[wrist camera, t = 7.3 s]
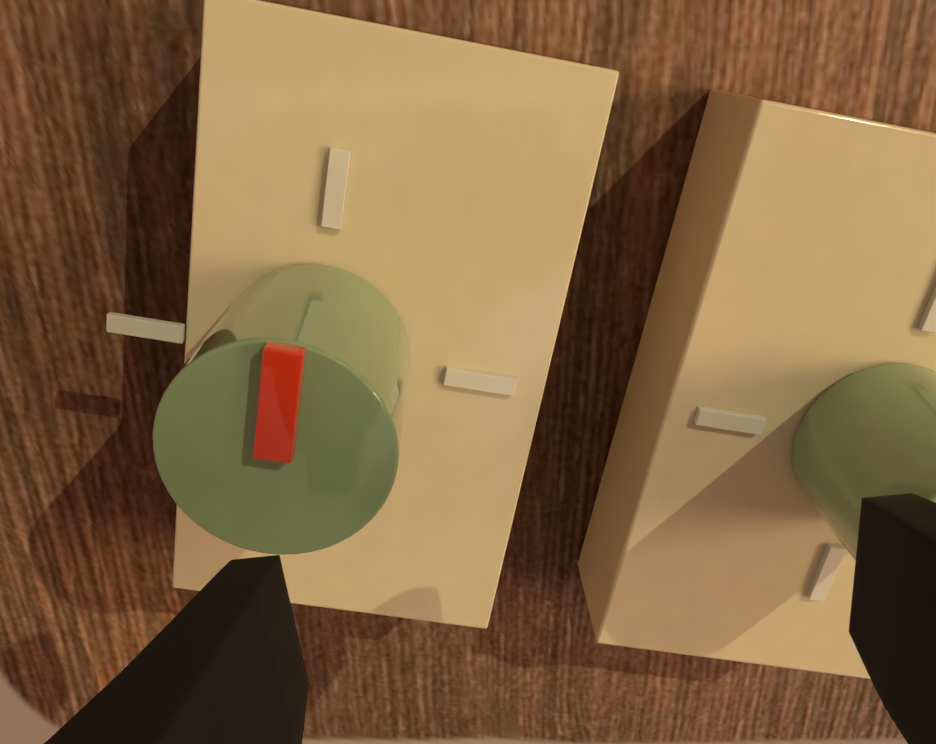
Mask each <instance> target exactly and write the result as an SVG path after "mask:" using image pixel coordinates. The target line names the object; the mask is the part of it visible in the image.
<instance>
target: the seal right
mask: <svg viewBox="0 0 936 744" xmlns="http://www.w3.org/2000/svg"><path fill="white" fill-rule="evenodd" d="M792 465H793V472H794V475H795V479H796V481H797V483H798V485H799V487H800V489H801V491H802V492H803V494H804V495H805V496H806V498H807V499H808V500H809V502H810V503H811V504H812V506H813V507H814V508H815V509H816V511H817V512H818V513H819V515H820V516H821V517H822V519H823V520H824V521H825V523H826V524H827V525H828V526H829V528H830V529H831V530H832V532H833V533H834V534H835V536H836V537H837V538H838V540H839V541H840V542H841V544H842V545H843V546H844V547H845V549H846V550H847V551H848V553H849V554H850V555H851V557H852V558H853V559H854V561H855V562H856V552H857V542H858V532H859V522H860V512H861V502H862V498H867V497H877V496H887V495H898V494H908V493H913V494H916V495H918V496H921V497H923V498H926V499H928V500H930V501H933V502H935V503H936V371H934V370H931V369H929V368H926V367H922V366H918V365H913V364H885V365H878V366H874V367H870V368H866V369H864V370H861V371H858V372H856V373H854V374H852V375H850V376H847V377H845V378H844V379H842V380H840V381H839V382H837V383H836V384H834V385H833V386H832V387H830V388H829V389H828V390H827V391H825V392H824V393H823V394H822V395H821V396H820V397H819V398H818V399H817V400H816V401H815V402H814V404H813V405H812V406H811V407H810V409H809V410H808V411H807V413H806V414H805V416H804V418H803V419H802V421H801V423H800V425H799V428H798V430H797V433H796V436H795V439H794V444H793V450H792Z"/></svg>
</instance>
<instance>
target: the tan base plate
mask: <svg viewBox="0 0 936 744" xmlns="http://www.w3.org/2000/svg"><path fill="white" fill-rule="evenodd" d="M618 77H619V72H618V71H617V70H613V69H609V68H605V67H601V66H597V65H593V64H588V63H583V62H578V61H573V60H568V59H563V58H558V57H553V56H548V55H542V54H537V53H532V52H527V51H522V50H517V49H512V48H507V47H502V46H497V45H492V44H487V43H481V42H476V41H471V40H466V39H461V38H456V37H451V36H446V35H441V34H436V33H431V32H425V31H420V30H415V29H410V28H405V27H400V26H395V25H390V24H385V23H380V22H375V21H370V20H364V19H359V18H354V17H349V16H344V15H339V14H334V13H329V12H324V11H319V10H314V9H308V8H303V7H298V6H293V5H288V4H283V3H278V2H273V1H268V0H204V3H203V21H202V40H201V59H200V77H199V96H198V115H197V133H196V152H195V170H194V189H193V208H192V226H191V245H190V264H189V282H188V301H187V319H186V338H185V357H184V364H185V363H186V362H187V360H188V359H189V358H190V357H191V355H192V354H193V353H194V352H195V350H196V349H197V348H198V346H199V345H200V344H201V343H202V341H203V340H204V339H205V338H206V336H207V335H208V334H209V333H210V331H211V330H212V329H213V327H214V326H215V325H216V324H217V322H218V321H219V320H220V319H221V317H222V316H223V315H224V313H225V312H226V311H227V310H228V308H229V307H230V306H231V305H232V303H233V302H234V301H235V300H236V298H237V297H238V296H239V295H240V294H241V293H242V292H243V290H244V289H245V288H247V287H248V286H249V285H250V284H251V283H253V282H254V281H255V280H257V279H258V278H260V277H262V276H263V275H265V274H267V273H270V272H272V271H274V270H277V269H280V268H284V267H287V266H293V265H300V264H318V265H327V266H331V267H335V268H340V269H342V270H345V271H348V272H350V273H353V274H355V275H357V276H358V277H360V278H362V279H364V280H365V281H367V282H368V283H370V284H371V285H373V286H374V287H375V288H376V289H377V290H379V291H380V292H381V293H382V294H383V295H384V296H385V297H386V298H387V299H388V301H389V302H390V303H391V304H392V306H393V307H394V309H395V310H396V312H397V313H398V315H399V317H400V319H401V321H402V323H403V325H404V328H405V331H406V334H407V337H408V342H409V347H410V366H409V375H408V384H407V393H406V401H405V410H404V419H403V427H402V436H401V444H400V453H399V462H398V470H397V474H396V478H395V482H394V485H393V487H392V490H391V492H390V495H389V497H388V498H387V500H386V502H385V503H384V505H383V507H382V508H381V509H380V511H379V512H378V513H377V514H376V515H375V517H374V518H373V519H372V520H371V521H370V522H369V523H368V524H367V525H365V526H364V527H363V528H362V529H361V530H359V531H358V532H356V533H355V534H354V535H352V536H351V537H349V538H347V539H345V540H343V541H342V542H340V543H338V544H335V545H333V546H330V547H327V548H325V549H321V550H317V551H313V552H308V553H301V554H286V555H280V559H281V564H282V568H283V573H284V577H285V581H286V586H287V590H288V595H289V599H290V603H294V604H302V605H309V606H317V607H325V608H332V609H340V610H347V611H355V612H363V613H370V614H378V615H385V616H393V617H401V618H408V619H416V620H423V621H431V622H439V623H446V624H454V625H461V626H469V627H477V628H484V629H485V628H487V627H488V624H489V620H490V615H491V611H492V607H493V603H494V599H495V594H496V590H497V586H498V582H499V578H500V573H501V569H502V565H503V561H504V557H505V552H506V548H507V544H508V540H509V535H510V531H511V527H512V523H513V519H514V514H515V510H516V506H517V502H518V498H519V493H520V489H521V485H522V481H523V477H524V472H525V468H526V464H527V460H528V456H529V451H530V447H531V443H532V439H533V435H534V430H535V426H536V422H537V418H538V414H539V409H540V405H541V401H542V397H543V393H544V388H545V384H546V380H547V376H548V372H549V367H550V363H551V359H552V355H553V351H554V346H555V342H556V338H557V334H558V330H559V325H560V321H561V317H562V313H563V309H564V304H565V300H566V296H567V292H568V288H569V283H570V279H571V275H572V271H573V267H574V262H575V258H576V254H577V250H578V246H579V241H580V237H581V233H582V229H583V224H584V220H585V216H586V212H587V208H588V203H589V199H590V195H591V191H592V187H593V182H594V178H595V174H596V170H597V166H598V161H599V157H600V153H601V149H602V145H603V140H604V136H605V132H606V128H607V124H608V119H609V115H610V111H611V107H612V103H613V98H614V94H615V90H616V86H617V82H618ZM106 331H107V332H111V333H117V334H123V335H130V336H136V337H142V338H149V339H155V340H161V341H168V342H174V343H180V344H182V343H183V342H184V334H185V324H182V323H176V322H170V321H164V320H157V319H151V318H145V317H139V316H132V315H126V314H120V313H114V312H109V313H108V314H107V324H106ZM274 555H279V554H267V553H261V552H256V551H250V550H247V549H244V548H241V547H237V546H235V545H232V544H230V543H228V542H225V541H223V540H221V539H219V538H217V537H215V536H214V535H212V534H210V533H208V532H207V531H206V530H204V529H203V528H201V527H200V526H199V525H197V524H196V523H195V522H194V521H193V520H191V519H190V518H189V517H188V516H187V515H186V514H185V513H184V512H183V511H182V510H181V508H180V507H179V506H178V505H177V506H176V524H175V543H174V562H173V580H172V586H173V587H174V588H180V589H188V590H196V591H201V589H202V588H203V587H204V586H205V585H206V584H207V583H208V582H209V581H210V580H211V579H212V578H213V577H214V576H215V575H216V574H217V573H218V572H219V571H220V570H221V569H222V568H223V567H224V566H225V565H226V564H227V563H228V562H229V561H230V560H233V559H243V558H254V557H264V556H274Z"/></svg>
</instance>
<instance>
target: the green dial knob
mask: <svg viewBox="0 0 936 744" xmlns="http://www.w3.org/2000/svg"><path fill="white" fill-rule="evenodd" d="M409 366H410V347H409V342H408V337H407V334H406V331H405V328H404V325H403V323H402V321H401V319H400V317H399V315H398V313H397V312H396V310H395V309H394V307H393V306H392V304H391V303H390V302H389V301H388V299H387V298H386V297H385V296H384V295H383V294H382V293H381V292H380V291H379V290H377V289H376V288H375V287H374V286H373V285H371V284H370V283H368V282H367V281H365V280H364V279H362V278H360V277H358V276H357V275H355V274H353V273H350V272H348V271H345V270H342V269H340V268H335V267H331V266H327V265H318V264H300V265H293V266H287V267H284V268H280V269H277V270H274V271H272V272H270V273H267V274H265V275H263V276H262V277H260V278H258V279H257V280H255V281H254V282H253V283H251V284H250V285H249V286H248V287H247V288H245V289H244V290H243V292H242V293H241V294H240V295H239V296H238V297H237V298H236V300H235V301H234V302H233V303H232V305H231V306H230V307H229V308H228V310H227V311H226V312H225V313H224V315H223V316H222V317H221V319H220V320H219V321H218V322H217V324H216V325H215V326H214V327H213V329H212V330H211V331H210V333H209V334H208V335H207V336H206V338H205V339H204V340H203V341H202V343H201V344H200V345H199V346H198V348H197V349H196V350H195V352H194V353H193V354H192V355H191V357H190V358H189V359H188V360H187V362H186V363H185V364H184V365H183V367H182V368H181V369H180V371H179V372H178V373H177V374H176V376H175V377H174V378H173V379H172V381H171V382H170V384H169V385H168V387H167V388H166V390H165V391H164V393H163V395H162V398H161V400H160V402H159V404H158V407H157V411H156V414H155V418H154V425H153V433H152V434H153V450H154V456H155V461H156V465H157V468H158V471H159V474H160V477H161V479H162V481H163V483H164V485H165V487H166V489H167V491H168V492H169V494H170V495H171V497H172V498H173V500H174V501H175V503H176V504H177V505H178V506H179V507H180V508H181V510H182V511H183V512H184V513H185V514H186V515H187V516H188V517H189V518H190V519H191V520H193V521H194V522H195V523H196V524H197V525H199V526H200V527H201V528H203V529H204V530H206V531H207V532H208V533H210V534H212V535H214V536H215V537H217V538H219V539H221V540H223V541H225V542H228V543H230V544H232V545H235V546H237V547H241V548H244V549H247V550H250V551H256V552H261V553H267V554H279V555H286V554H301V553H308V552H313V551H317V550H321V549H325V548H327V547H330V546H333V545H335V544H338V543H340V542H342V541H343V540H345V539H347V538H349V537H351V536H352V535H354V534H355V533H356V532H358V531H359V530H361V529H362V528H363V527H364V526H365V525H367V524H368V523H369V522H370V521H371V520H372V519H373V518H374V517H375V515H376V514H377V513H378V512H379V511H380V509H381V508H382V507H383V505H384V503H385V502H386V500H387V498H388V497H389V495H390V492H391V490H392V487H393V485H394V482H395V478H396V474H397V470H398V462H399V453H400V444H401V436H402V427H403V419H404V410H405V401H406V393H407V384H408V375H409Z"/></svg>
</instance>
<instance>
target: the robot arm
mask: <svg viewBox="0 0 936 744" xmlns="http://www.w3.org/2000/svg"><path fill="white" fill-rule="evenodd" d="M849 633H850V636H851V638H852V640H853V642H854V644H855V646H856V649H857V651H858V653H859V655H860V657H861V659H862V662H863V664H864V666H865V668H866V670H867V672H868V674H869V676H870V678H871V680H872V682H873V684H874V686H875V688H876V690H877V692H878V694H879V696H880V698H881V700H882V702H883V704H884V706H885V708H886V710H887V711H888V713H889V714H890V716H891V718H892V719H893V721H894V722H895V724H896V726H897V727H898V729H899V730H900V732H901V733H902V735H903V736H904V738H905V740H906V741H907V743H908V744H936V503H935V502H933V501H930V500H928V499H926V498H923V497H921V496H918V495H916V494H913V493H908V494H898V495H887V496H877V497H867V498H862V502H861V512H860V522H859V532H858V542H857V552H856V562H855V572H854V582H853V592H852V603H851V613H850V623H849ZM308 684H309V682H308V678H307V674H306V669H305V665H304V660H303V656H302V652H301V647H300V643H299V638H298V634H297V630H296V625H295V621H294V617H293V612H292V608H291V603H290V599H289V595H288V590H287V586H286V581H285V577H284V573H283V568H282V564H281V559H280V555H274V556H264V557H254V558H243V559H233V560H230V561H229V562H228V563H227V564H226V565H225V566H224V567H223V568H222V569H221V570H220V571H219V572H218V573H217V574H216V575H215V576H214V577H213V578H212V579H211V580H210V581H209V582H208V583H207V584H206V585H205V586H204V587H203V588H202V589H201V591H200V592H199V593H198V594H197V595H196V596H195V597H194V598H193V599H192V600H191V601H190V602H189V603H188V604H187V605H186V606H185V607H184V608H183V609H182V610H181V612H180V613H179V614H178V615H177V616H176V617H175V618H174V619H173V620H172V621H171V622H170V623H169V624H168V625H167V626H166V627H165V628H164V629H163V630H162V631H161V632H160V633H159V634H158V635H157V636H156V637H155V638H154V639H153V640H152V641H151V642H150V643H149V644H148V645H147V646H146V647H145V648H144V649H143V650H142V651H141V652H140V654H139V655H138V656H137V657H136V658H135V659H134V660H133V661H132V662H131V663H130V664H129V665H128V666H127V667H126V668H125V669H124V670H123V671H122V672H121V673H120V674H119V675H118V676H116V677H115V678H114V679H113V680H112V681H111V682H110V683H109V684H108V685H107V686H106V687H105V688H104V689H103V690H101V691H100V692H99V693H98V694H97V695H96V696H95V697H94V698H93V699H92V700H91V701H90V702H89V703H88V704H86V705H85V706H84V707H83V708H82V709H81V710H80V711H79V712H78V713H77V714H76V715H75V716H74V717H73V718H71V719H70V720H69V721H68V722H67V723H66V724H65V725H64V726H63V727H62V728H61V729H60V730H59V731H58V732H57V733H55V734H54V735H53V736H52V737H51V738H50V739H49V740H48V741H47V742H45V743H44V744H302V737H303V730H304V721H305V712H306V702H307V693H308Z"/></svg>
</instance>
